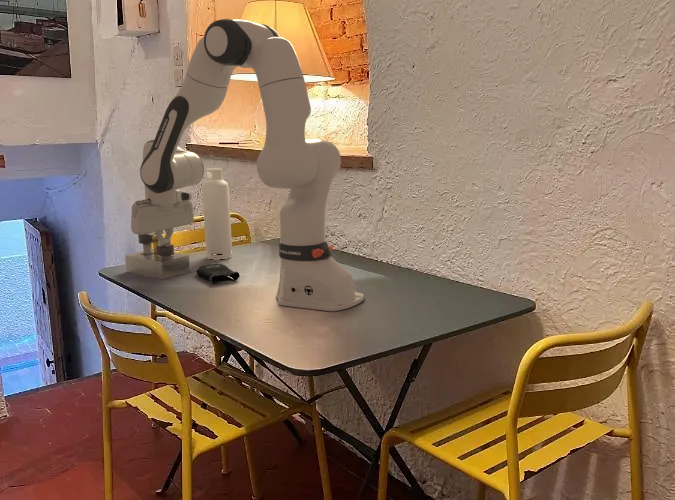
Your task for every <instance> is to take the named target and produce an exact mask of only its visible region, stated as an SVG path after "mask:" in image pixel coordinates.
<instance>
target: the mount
mask: <svg viewBox="0 0 675 500" xmlns="http://www.w3.org/2000/svg"><path fill="white" fill-rule="evenodd" d="M170 257H171V258H167V259H164V258H162V256H158V255H154V248H152V254H151V255H144V251H143V250H142V251H138V252H134V253H129V254H127V255H126V254H125V268H126V269H125V270H126V273H129V274H134V275H138V276H144V277H150V278H154V279H159V280H167V279H170V278H173V277H177V276H180V275H184V274H188V273H190V272H191V269H190V268H191V266H190V254H183V253H179V252H178V253H177V252H174V255H171V256H170Z"/></svg>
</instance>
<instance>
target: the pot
mask: <svg viewBox="0 0 675 500" xmlns="http://www.w3.org/2000/svg"><path fill="white" fill-rule="evenodd" d="M152 240H153V243H152V245H153V249H154V255H158V251H157V246H158V245H159V239H158V238H157V237H156V235H155V236H152Z"/></svg>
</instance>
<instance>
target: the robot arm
mask: <svg viewBox="0 0 675 500" xmlns="http://www.w3.org/2000/svg"><path fill="white" fill-rule="evenodd" d="M237 67H238V68H239V67H240V68H243V69H253V71H254V73H255V76H256V80H257V85H258V88H259V89H258V90H259V92H260V97H261V102H262V107H263V111H264V116H265V117H264V118H265V124H266V125H265V131H266V132H265V139H264V140H265V141H264V145H263V147H262V149H261V151H260V153H259V155H258V157H257V159H256V171H257V175H258V177H259V179H260V180H261V182H262V183H263V184H264V185H266V187H270V188H271V189H272V188H273V189H274V188H275V189H282V190H288V189H290V190H289V193H288V197H287V198H286V201H285V202H284V203H283V205H282V206H281V208H280V211H279V235H280V241H279V242H278V255H279V257H280V270H279V271H280V272H279V280H278V286H277V291H276V295H275V299H277V301H278V302H277V303H278V305H279V306H286V307H293V308H300V309H301V308H302V309H309V310H318V311H326V312H337V311H341V310H345V309H349V308H352V307H355V306H356V305H358V304H360V303H361V302H363V301H364V300H365V297H364V293H361V292H357V291H356V290H355V284H354V283H355V282H354V279H353V278H354V277H353V276H352V274H351V273H350V272H349V271H348V270H347V269H345V268H344V267H343V266H342V265H341V264H340V263H339V262H338V261H337V260H336V259H335V258H334V257H332V252H331V251H334V250H335V245H331V246H329V244H328V242H327V240H326V238H325V237H326V229H325V228H326V226H325V225H326V223H325V222H326V206H327V200H328V197H329V192H330V189H331V186H332V185H331V184H332V182H333V180H334V179H335V177H336V175H337V173H338V172H339V171H340V168H341V165H342V158H341V154H340V151H339V149H338V147H337V146H336V145H335V144H333V143H332V142H330V141H327V140H323V139H320V138H319V139H318V138H311V139H310V138H309V139H306V136H305V135H306V134H305V133H306V132H305V129H306V123H307V120H308V118H309V117H310V116H311V113H312V112H311V111H312V107H311V102H310V99H309V95H308V90H307V85H306V82H305V77H304V73H303V70H302V67H301V63H300V61H299V58H298V55H297V53H296V50H295V48H294V46H293V44H292V43H291V42H290V41H289V40H288V39H286V38H285V37H281V36H280V33H278V32H277V30H275V29H274V28H272V27H271V26H269V25H266V24H263V23H260V24H259V23H256V22H254V21H253V22H252V21H249V20H246V19H245V20H244V19H231V18H221V19H218V20H214V21H213V22H211V23H210V24H208V26H207V28H206V30H205V32H204V36H203V37H201V38H200V39H199V40H198V42H197V44H196V46H195V48H194V50H193V53H192V54H191V58H190V60H189V63H188V66H187V69H186V72H185V75H184V76H185V77H184V80H183V82H182V84H181V86H180V88H179V90H178V92H177V93H176V95H175V96H174V98H172V100H171V101H170V102H169V104H168V106H167V108H166V110H165V111H164V113H163V117H162V119H161V122H160V124H159V127H158V129H157V133H156V134H155V138H154V139H152V140H148V141H146V142H145V143H144V144H143V150H142V162H141V164H140V170H139V172H140V174H139V175H140V179H141V181H142V183H143V184H144V196H145V197H144V198H145V199H142V200H136V201H135V202H134V203H133V204H132V205H131V219H130V227H131V229H130V230H131V232H132V233H133V234H135V235H138V234H139V235H142V234H147V233H152V232H153V233H154V234H155V236H156V237H157V238H158V239H159V245H161V246H163V245H168V244H172V243H171V242H172V241H171V238H172V236H173V233H174V228H179V227H183V226H189V225H192V224H193V222H194V219H195V218H194V214H195V213H194V206H193V203H192V201H191V200H192V196H193V195H192V193H191V192H188V191H184V190H180V189H184V188H187V187H192V186H195V185H197V184H200V182H201V181H202V179H203V177H204V171H205V167H204V163H203V160H202V158H201V157H200V156H199V154H197V153H196V152H193V151H189V150H186V149H183V148H181V147H180V146H179V144H180V142H181V139H182V136H183V135H184V132H185V131H186V130H187V128H189V127H190V126H191V125H192V124H193V123H195V122H197V121H198V120H199V119H202V118H204V117H206V116H209V115H211V114H213V113H215V112H216V111H217V110H218V109H219V108H220V107H221V106H222V105H223V103H224V100H225V99H226V96H227V92H228V89H229V84H230V82H231V78H232V74H233V72H234V71H235V69H237ZM164 232H165V235H163V234H164Z"/></svg>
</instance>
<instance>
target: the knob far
mask: <svg viewBox="0 0 675 500" xmlns="http://www.w3.org/2000/svg"><path fill="white" fill-rule="evenodd" d="M152 236H156V235H155V232H152V233H147V234H142V235H139V234H137V237H138V238H137V239H138V243H139V244H142V249H143V250H142V251H144V255H151V254H152V249H153V248H152V245H153V240H152Z"/></svg>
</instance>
